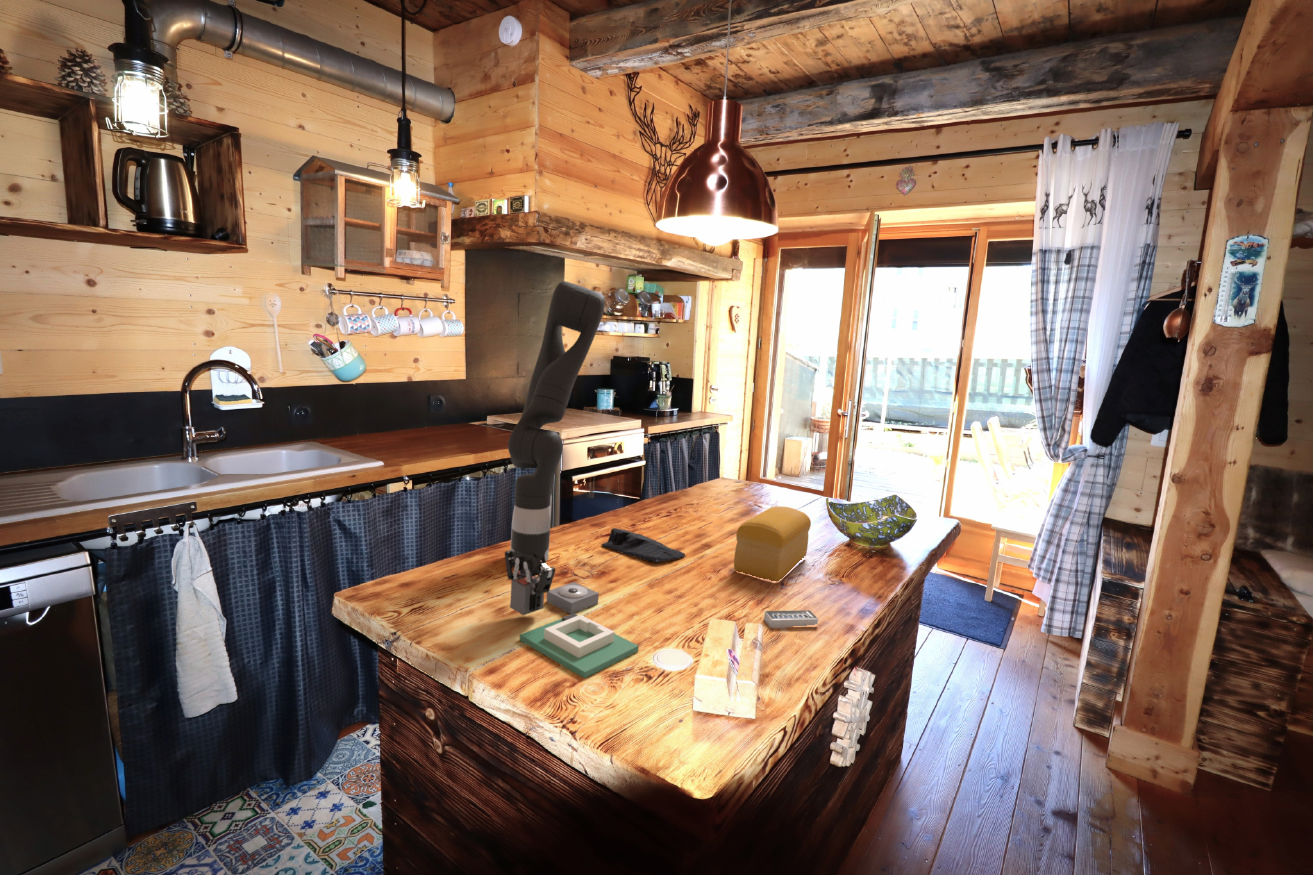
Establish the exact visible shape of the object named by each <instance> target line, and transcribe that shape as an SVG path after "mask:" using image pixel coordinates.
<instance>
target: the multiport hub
mask: <svg viewBox="0 0 1313 875" xmlns="http://www.w3.org/2000/svg"><path fill="white" fill-rule="evenodd" d="M763 621H764V622H765V623H766V624H767V625H768V627H769V628H770V629H786V628H785V627H793V626H807V625H815V624H818V625H819V617H818V616H816V615H815V614H814V612H812V610H810V609H808V610H807V609H806V610H805V609H804V610H802V609H801V610H764V615H763Z"/></svg>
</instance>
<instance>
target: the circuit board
mask: <svg viewBox="0 0 1313 875" xmlns="http://www.w3.org/2000/svg"><path fill="white" fill-rule="evenodd" d="M519 641H520V642H522V643H524V644H525V645H526V646H529V647H530V648H532V649H534V650H535V651H537V652H539V653H541V654H542V655H544V656H546V657H547V658H549V659H551V660H552V661H554V662H555V663H557V664H558V665H561V666H562V667H564V668H565V669H568V670H570V671H571V672H573V673H574V674H576V675H578V676H579V677H581V678H583V679H587V678H588V677H590V676H593V675H595V674H597V673H598V672H600V671H602V670H604V669H607V668H608V667H610V666H612V665H614V664H616V663H618V662H620V661H623V660H624V659H626V658H628V657H630V656H632V655H634V654H636V653H638V652H639V646H640V645H638V644H636V643H634V642H632V641H630V640H628V639H626V638H624V637H622V636H621V635H618V634H616V633H615V630H614V631H613V630H612V629H610V628H609V627H606V626H603V625H602V624H600V623H598V622H596V621H593V619H589V618H588V617H585V616H583V615H582V614H576V613H573V614H570V613H569V614H567V615H565V616H562V617H561V618H559V619H557V620H553V621H551V622H549V623H545V624H544V625H541V626H538V627H535V628H534V629H530V630H528V631H526V632H523V633H520V634H519Z"/></svg>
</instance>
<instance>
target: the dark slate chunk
mask: <svg viewBox="0 0 1313 875" xmlns="http://www.w3.org/2000/svg"><path fill="white" fill-rule="evenodd" d="M601 546H602V547H604V548H605V547H607V548H608V549H611V550H612V551H615V552H618V553H621V554H623V555H628V554H629V555H628V556H631V557H633V556H635V557H634V558H636V557H637V558H636V559H640V558H641V559H640V560H643V559H644V560H643V561H645V560H648V561H647V562H650V561H652V562H653V563H655V562H657V563H662V562H666V561H672V560H673V559H674V560H678V558H680V559H683V558H685V557H686V556H685V554H686V553H684V552H682V551H681V550H678V549H674V548H671V547H668V546H667V545H665V544H664V543H662V542H660V541H657V540H655V539H653V538H650V537H648V536H646V535H643V534H640V533H636V532H633V531H629V530H626V529H621V528H617V527H613V528H611V530H610V535H609V537H608V540H607V542H604V543H601ZM684 556H685V557H684ZM682 557H683V558H682ZM652 562H651V563H652ZM657 563H656V564H657Z"/></svg>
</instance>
